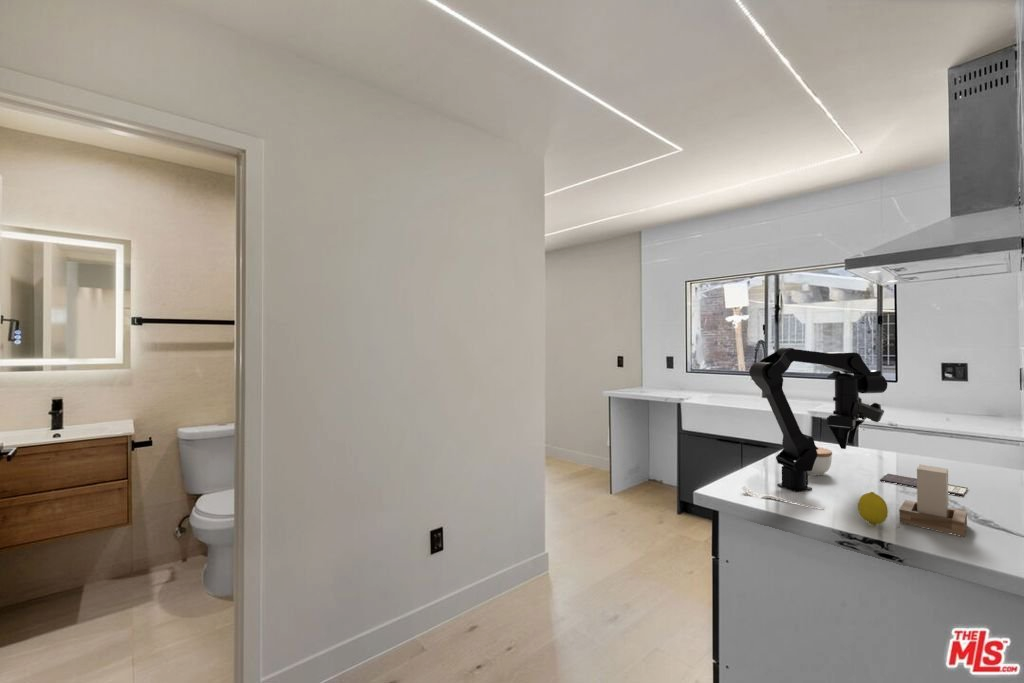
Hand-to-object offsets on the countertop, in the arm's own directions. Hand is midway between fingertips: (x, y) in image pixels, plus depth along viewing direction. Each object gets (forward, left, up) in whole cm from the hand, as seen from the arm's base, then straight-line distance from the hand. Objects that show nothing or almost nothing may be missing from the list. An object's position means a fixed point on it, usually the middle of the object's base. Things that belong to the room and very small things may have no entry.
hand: (847, 445), depth 134 cm
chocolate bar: (+21, -7, -13) cm, 25 cm away
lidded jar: (+2, +13, -12) cm, 18 cm away
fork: (-28, -3, -13) cm, 31 cm away
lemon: (-22, -22, -12) cm, 33 cm away
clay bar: (-8, -26, -11) cm, 29 cm away
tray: (-8, -26, -12) cm, 30 cm away
